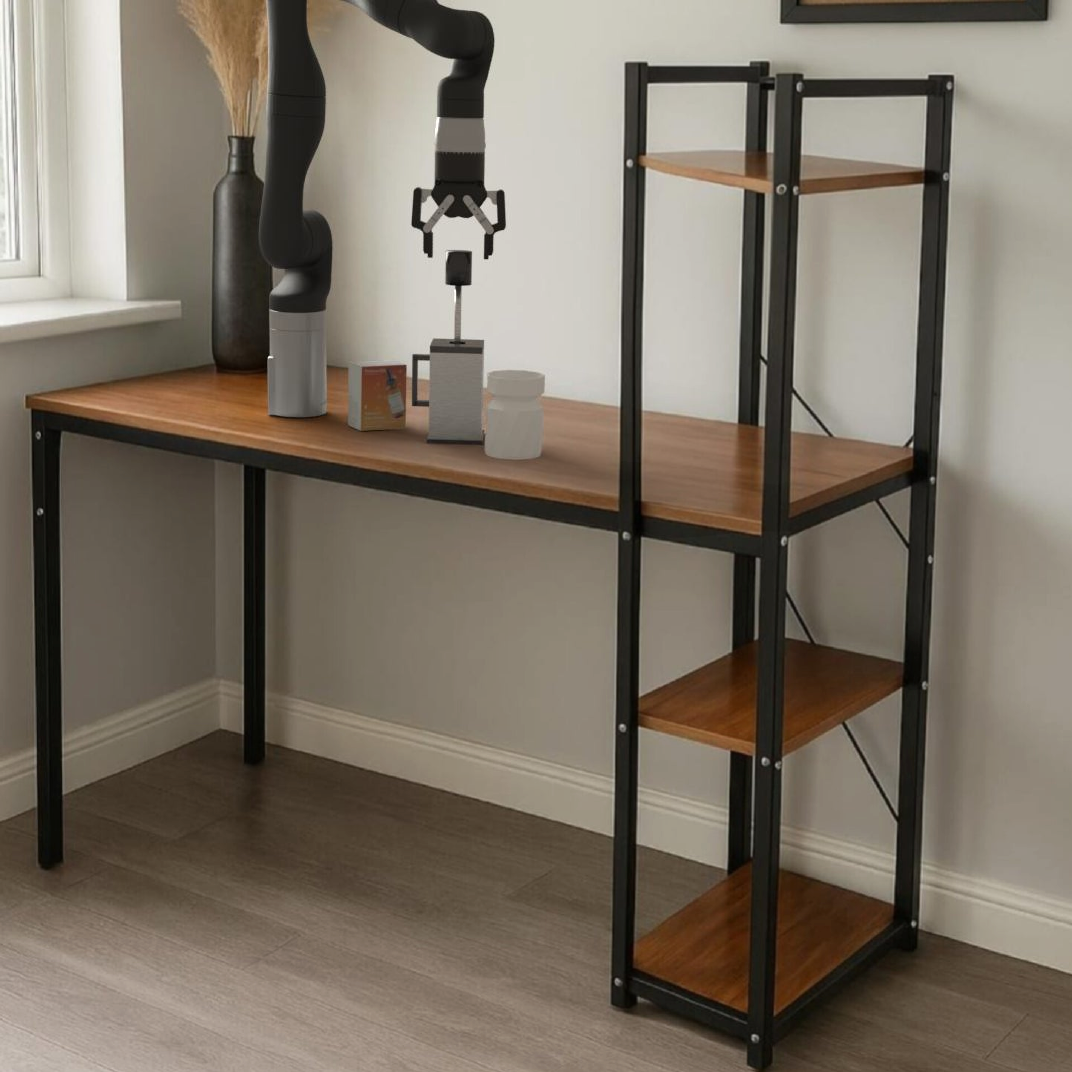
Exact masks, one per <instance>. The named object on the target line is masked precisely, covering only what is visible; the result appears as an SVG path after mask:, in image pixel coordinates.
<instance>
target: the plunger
mask: <svg viewBox="0 0 1072 1072" xmlns="http://www.w3.org/2000/svg"><path fill="white" fill-rule="evenodd" d="M472 270H473V251H472V250H466V249H465V250H464V249H463V250H462V249H449V250H447V249H446V250H445V273H444V274H445V277H444V278H445V281H444V283H445V285H446V286H454V325H453V326H454V331H453V332H454V335H453V337H454V338H453V339H454V344H461V339H462V295H463V294H462V288H463V287H466V286H467V287H468V286H472V279H473V278H472V274H473V271H472Z"/></svg>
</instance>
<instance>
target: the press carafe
mask: <svg viewBox="0 0 1072 1072" xmlns="http://www.w3.org/2000/svg"><path fill="white" fill-rule="evenodd" d="M411 357H412V359H411V360H412V361H411V364H412V365H411V366H412V367H411V369H412V370H411V371H412V372H411V374H412V375H411V376H412V377H411V407H425V408H426V407H427V408H428V434H427V438H426V443H427V444H444V445H445V444H447V445H449V444H450V445H478V446H479V445H480V446H481V445H482V446H483V445H484V444H483V443H484V439H485V429H483V424H484V423H483V419H484V418H483V417H484V413H483V412H484V408H483V407H484V373H485V372H484V370H485V369H484V368H485V366H484V365H485V361H484V360H485V340H484V339H467V338H463V339H462V338H461V344H454V338H432V341H431V342H430V345H429V353H428V354H427V353H412V355H411ZM419 361H420V362H421V361H423V362H424V361H427V362H429V380H428V381H429V384H428V385H429V391H428V395H429V396H428V397H429V398H428V399H418V393H419V391H418V390H419V385H418V384H419Z"/></svg>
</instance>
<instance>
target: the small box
mask: <svg viewBox="0 0 1072 1072" xmlns="http://www.w3.org/2000/svg"><path fill="white" fill-rule="evenodd" d="M407 376H408V375H407V364H406V363H403V362H401V361H398V360H396V359H385V360H366V361H349V362H348V382H347V383H348V389H347V390H348V394H347V396H348V397H347V398H348V403H347V404H348V406H347V407H348V408H347V424H348V426H349V427H351V428H353V429H356V430H357V431H359V432H366V431H380V430H384V431H385V430H386V431H387V430H405V429H406V427H407Z"/></svg>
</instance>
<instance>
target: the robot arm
mask: <svg viewBox="0 0 1072 1072" xmlns="http://www.w3.org/2000/svg"><path fill="white" fill-rule="evenodd" d="M265 1H266V4H265V5H266V15H267V16H266V17H267V18H266V19H267V63H268V64H267V69H268V70H267V73H268V74H267V85H266V87H267V90H266V141H265V143H266V145H265V162H264V164H265V165H264V167H265V169H264V180H263V181H264V182H263V189H262V190H263V192H262V200H261V208H260V214H259V222H258V224H259V225H258V244H259V248H260V249H259V250H260V251H261V254H262V257H263V259H264V260H265V261H266V262H267V264H269V266H271V267H273V268H274V269H278V270H283V271H284V272H283V273H284V274H283V276H282V279H281V280H280V282H279V283H278V285H276V287H274V288H273V289H272V290H271V291H270V293H269V298H268V306H269V307H268V309H269V311H268V312H269V316H268V318H269V355H268V356H267V413H268V414H267V415H269V416H279V417H285V418H286V417H287V418H310V417H312V418H313V417H317V416H318V417H319V416H323V415H325V414H327V401H328V399H327V299H328V296H329V294H330V292H331V291H330V290H331V287H332V286H331V285H332V272H333V250H334V249H333V235H332V230H331V227H330V224H329V222H328V220H327V219H326V217H325V216H324V215H323V214H321V213H320V212H319V211H317V210H315V209H311V208H304V189H305V181H306V177H307V175H308V171H309V168H310V165H311V163H312V161H313V159H314V157H315V155H316V152H317V150H318V149H319V145H320V143H321V140H322V137H323V135H324V130H325V125H326V111H327V110H326V109H327V108H326V106H327V105H326V104H327V103H326V102H327V88H326V87H327V86H326V81H325V76H324V74H323V71H322V68H321V65H320V63H319V59H318V57H317V54H316V53H315V50H314V47H313V45H312V42H311V39H310V35H309V29H308V22H307V21H308V20H307V19H308V17H307V16H308V15H307V13H308V12H307V9H308V8H307V6H308V0H265ZM340 1H341V2H342V1H343V2H345V3H348V4H350V5H353V6H355V7H357V8H358V9H360V10H361V11H362V12H363V13H365V14H366V15H367V16H368V17H369V18H371V19H372V20H373V21H375V22H376V23H378V24H379V25H380V26H383V27H384V28H387V29H388V30H391V31H393V32H396V33H398V34H399V35H402V36H405V37H406V38H408V39H413V41H414V42H416V43H417V44H418V45H420V46H421V47H422V48H424V49H425V50H426V51H429V52H431V53H432V54H435V55H436V56H439V57H441V58H445V59H447V60H448V59H449V60H452V61H453V62H452V67H451V71H450V73H449V75H448V76H445V77H443V78H442V79H440V80H439V82H438V85H437V90H436V92H437V93H436V98H437V99H436V124H435V131H434V181H433V182H434V183H433V184H434V185H433V187H432V189H430V188H422V187H420V186H417V187H415V188H414V189H413V193H412V209H411V222H410V223H411V224H410V225H411V227H412V228H413V229H417V230H419V231H421V232H422V236H423V237H422V244H423V245H422V247H423V248H422V251H423V253H424V254H425V255H427V258H429V259H433V258H434V232H433V228H434V227H435V226H436V225H437V224H438V222H439V220H440V219H441V218H442V217H443V215H444V216H445V217H447V218H448V219H450V218H451V219H454V218H462V219H470V218H472V217H475V219H476V220H477V222H478V224H479V225H480V226H481V227H482V229H484V232H485V233H484V235H483V260H489V259H490V258H489V256H492V255H493V253H494V237H495V234H496V233H498V232H501V231H505V230H506V228H507V220H506V218H507V217H506V216H507V214H506V193H505V191H504V190H503V189H498V190H487V189H486V187H485V173H486V172H485V171H486V170H485V169H486V168H485V163H486V160H485V159H486V157H485V156H486V143H487V142H486V129H485V120H484V118H485V117H484V116H485V113H484V112H485V87H486V84H487V81H488V77H489V73H490V71H491V70H490V69H491V65H492V60H493V56H494V50H495V39H496V38H495V32H494V29H493V25H492V23H491V20H490V19H489V18H488V17H487V16H486V15H485V13H484V14H483V12H480V11H476V10H467V9H457V8H453V7H449V6H445V5H443V4H441V3H439V1H438V0H340ZM429 197H431V198H432V200H433V201H434V203H435V204H436V206H437V208H436V209H435V211H434V213H433V214H432V215H431V216H430V217H429V219H428V220H427V221H423V220H421V217H422V216H421V215H422V204H425V202H427V201H428V198H429ZM487 198H489V199H490V201H491V203H492V205H495V206H496V213H497V214H496V215H497V216H496V217H497V222H495V223H491V222H490V220H489V219H488V217H487V215H486V214H485V212H484V211H483V210H482V208H481V207H482V205H483V204H484V202H486V200H487Z"/></svg>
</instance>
